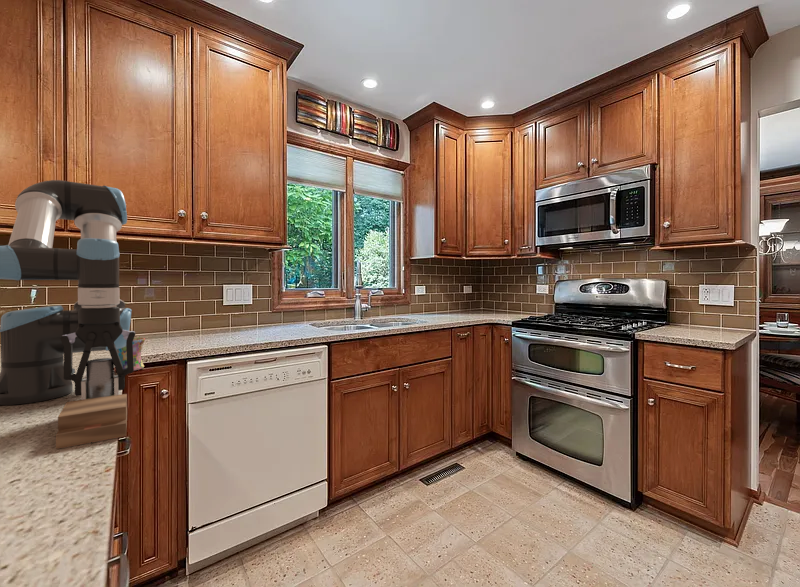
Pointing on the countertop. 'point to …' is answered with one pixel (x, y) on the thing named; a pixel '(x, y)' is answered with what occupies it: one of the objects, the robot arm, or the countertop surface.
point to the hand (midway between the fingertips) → (100, 406)
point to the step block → (92, 420)
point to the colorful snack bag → (136, 354)
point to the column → (100, 378)
